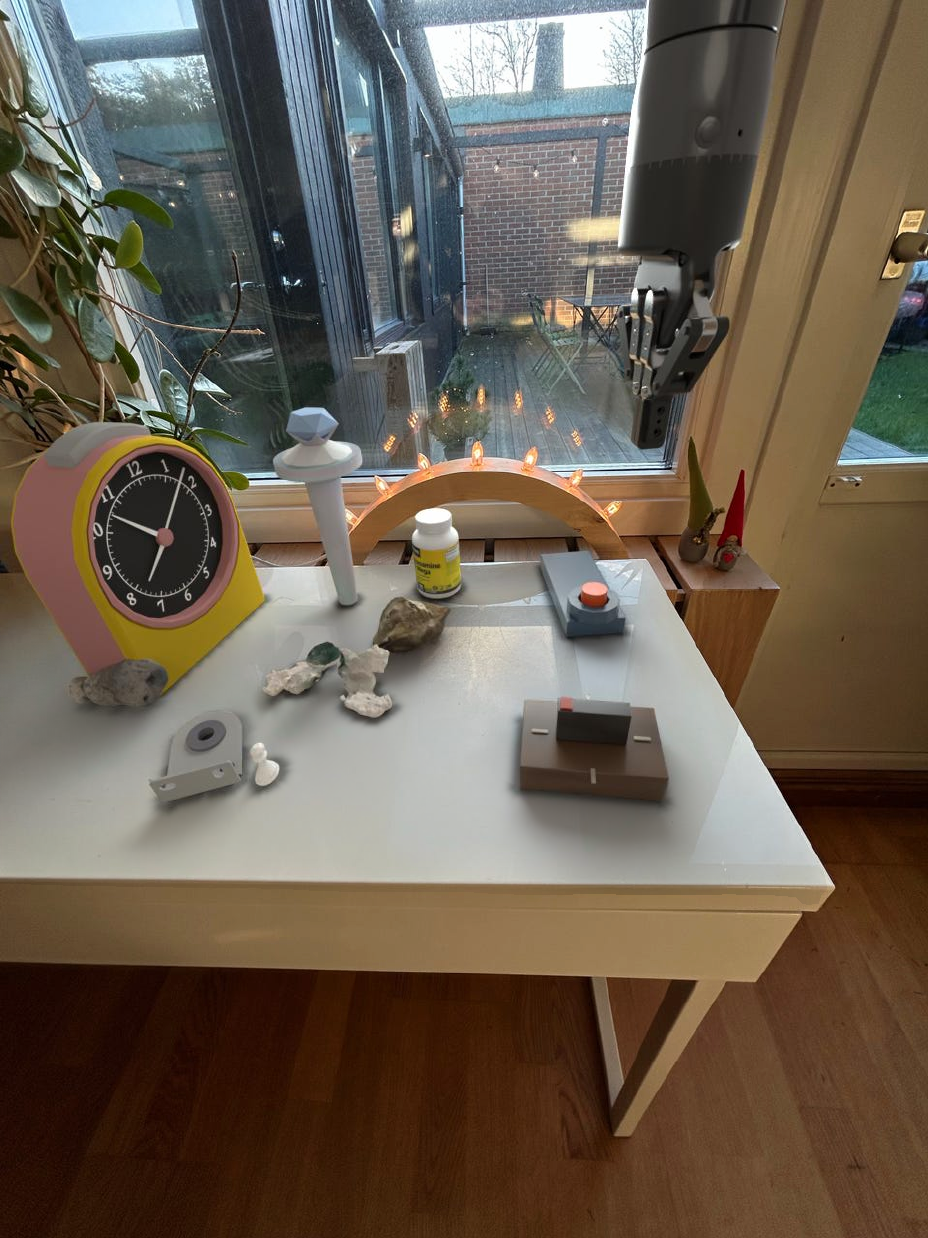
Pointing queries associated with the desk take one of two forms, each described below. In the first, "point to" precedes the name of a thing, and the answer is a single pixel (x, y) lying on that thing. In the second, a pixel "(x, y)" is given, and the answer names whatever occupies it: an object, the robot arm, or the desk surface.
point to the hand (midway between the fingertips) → (646, 445)
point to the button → (594, 594)
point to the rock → (349, 668)
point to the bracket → (202, 756)
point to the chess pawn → (263, 765)
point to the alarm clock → (133, 547)
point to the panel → (592, 757)
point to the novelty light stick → (324, 487)
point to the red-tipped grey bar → (593, 721)
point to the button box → (579, 594)
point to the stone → (121, 684)
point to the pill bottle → (436, 554)
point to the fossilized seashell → (409, 625)
